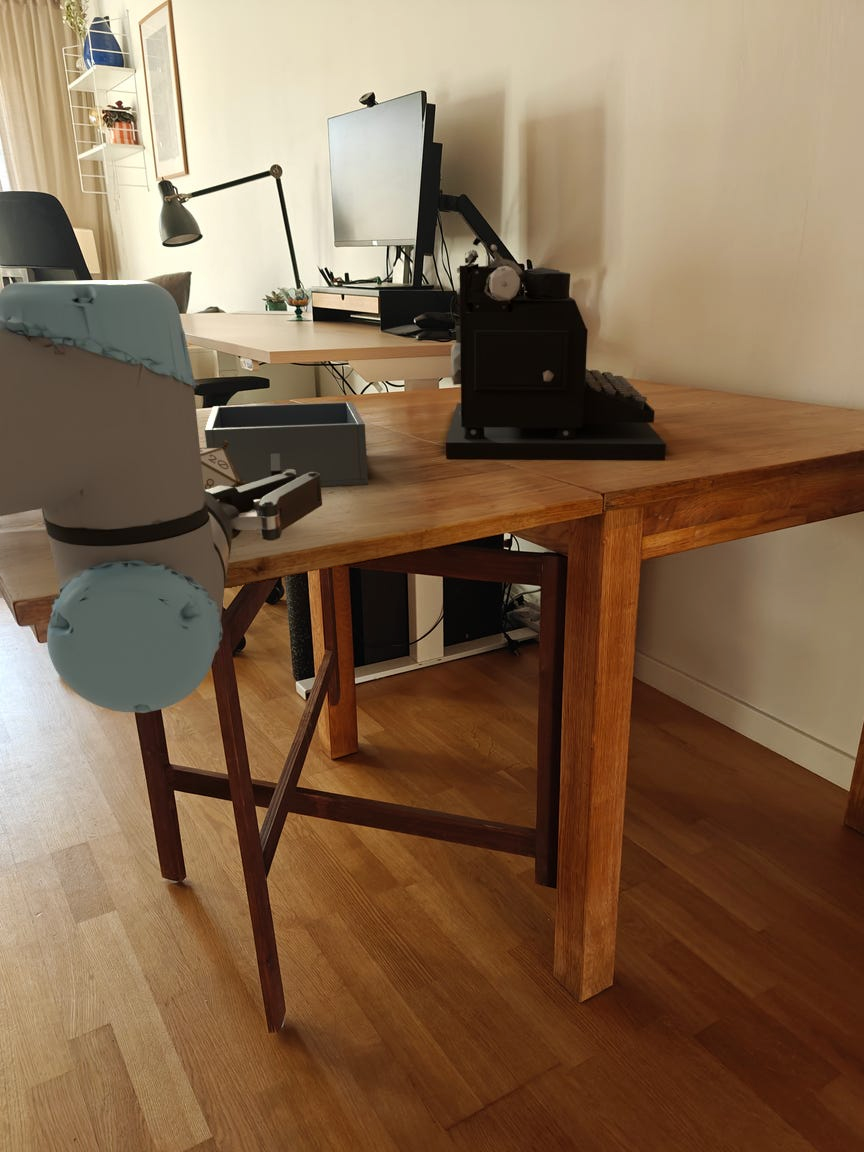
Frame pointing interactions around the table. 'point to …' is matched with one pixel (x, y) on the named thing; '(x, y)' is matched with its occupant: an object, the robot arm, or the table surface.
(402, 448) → the table surface
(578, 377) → the typewriter
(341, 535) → the table surface
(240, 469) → the bin
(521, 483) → the table surface
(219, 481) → the game die
